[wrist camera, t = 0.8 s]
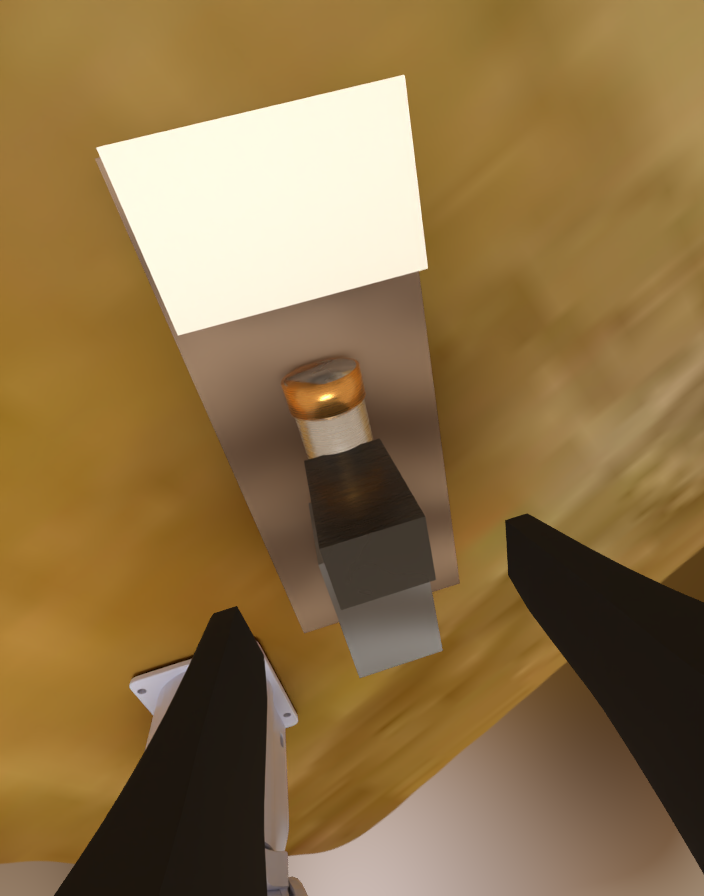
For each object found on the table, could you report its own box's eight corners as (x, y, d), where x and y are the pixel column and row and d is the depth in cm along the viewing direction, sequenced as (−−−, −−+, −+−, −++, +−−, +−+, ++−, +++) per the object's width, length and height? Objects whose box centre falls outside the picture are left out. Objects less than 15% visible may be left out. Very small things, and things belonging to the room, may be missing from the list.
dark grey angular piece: (404, 586, 23) (461, 728, 16) (354, 602, 23) (391, 752, 16) (350, 352, 16) (410, 428, 10) (279, 372, 16) (289, 463, 9)
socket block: (377, 261, 16) (427, 268, 11) (206, 306, 15) (177, 335, 10) (354, 135, 14) (404, 74, 9) (159, 183, 13) (96, 147, 8)
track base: (453, 571, 26) (495, 645, 21) (302, 619, 25) (311, 706, 20) (386, 96, 14) (446, 23, 9) (106, 164, 14) (20, 121, 9)
